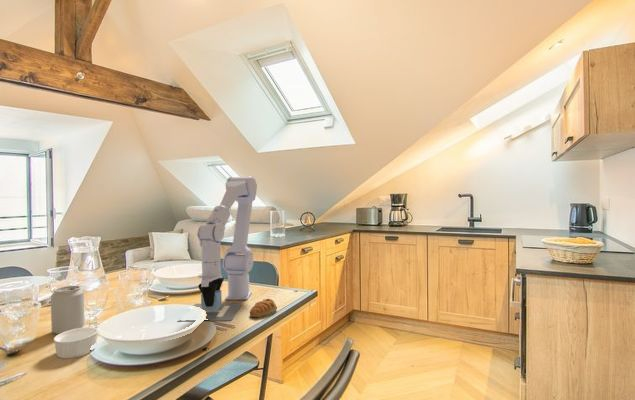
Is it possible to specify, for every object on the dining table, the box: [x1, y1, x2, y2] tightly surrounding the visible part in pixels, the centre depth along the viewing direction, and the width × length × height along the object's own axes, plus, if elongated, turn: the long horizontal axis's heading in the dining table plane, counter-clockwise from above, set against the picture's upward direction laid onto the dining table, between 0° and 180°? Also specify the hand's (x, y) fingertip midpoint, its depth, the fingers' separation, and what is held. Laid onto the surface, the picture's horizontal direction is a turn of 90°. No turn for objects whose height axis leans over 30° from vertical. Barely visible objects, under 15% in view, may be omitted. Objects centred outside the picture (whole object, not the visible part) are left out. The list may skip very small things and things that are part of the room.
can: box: [50, 285, 85, 336], centre depth 99 cm, size 8×8×12 cm
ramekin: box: [53, 326, 99, 359], centre depth 86 cm, size 9×9×4 cm
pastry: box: [249, 298, 278, 318], centre depth 112 cm, size 9×7×4 cm
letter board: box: [192, 302, 243, 322], centre depth 113 cm, size 16×16×1 cm
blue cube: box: [200, 289, 223, 311], centre depth 113 cm, size 5×5×5 cm
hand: (211, 303), depth 113 cm, fingers closed on blue cube, 5 cm apart
